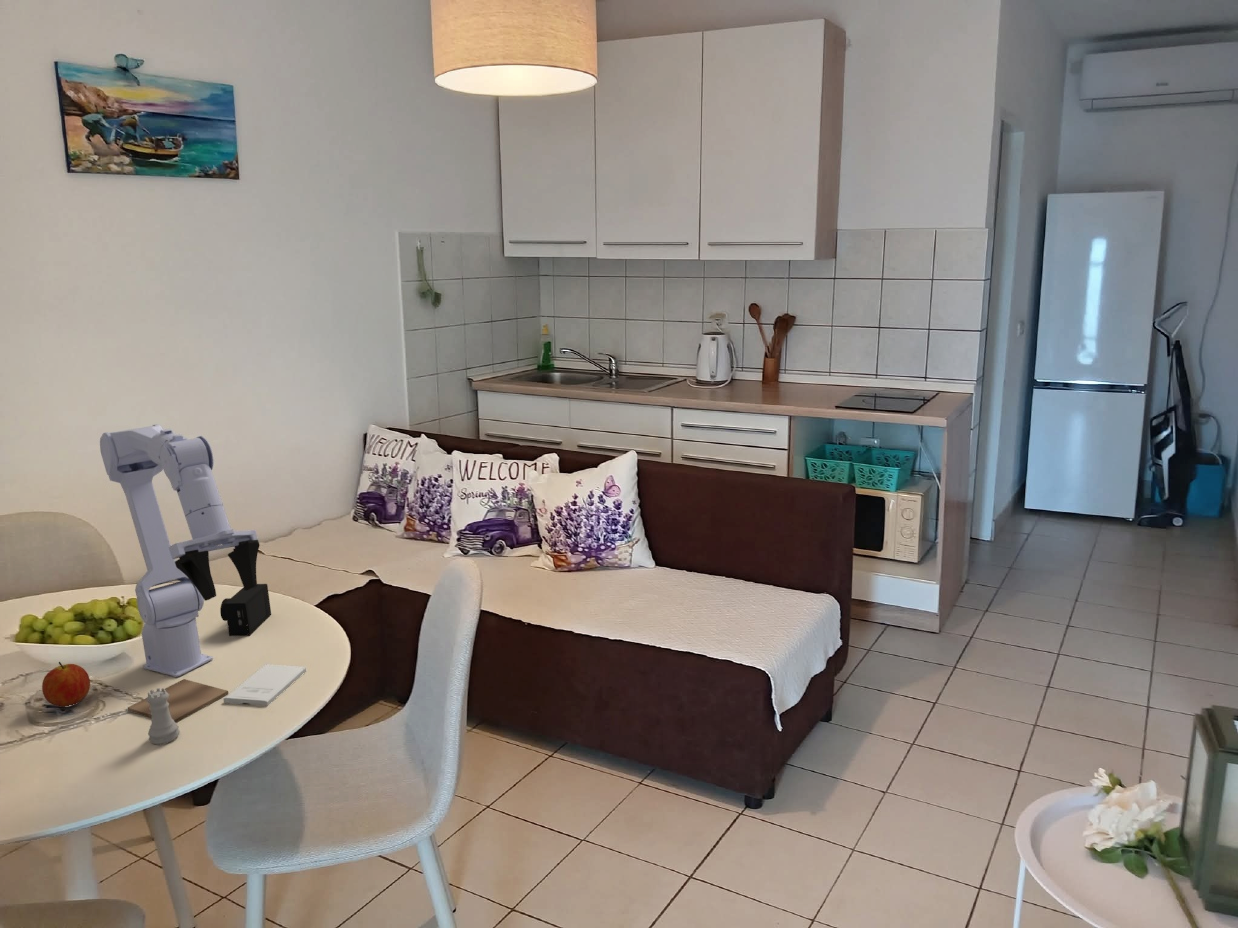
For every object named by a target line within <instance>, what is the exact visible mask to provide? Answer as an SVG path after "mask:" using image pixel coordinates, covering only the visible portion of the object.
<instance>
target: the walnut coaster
mask: <svg viewBox="0 0 1238 928" xmlns="http://www.w3.org/2000/svg"><path fill="white" fill-rule="evenodd" d="M164 689H165V690H166V692H167V693H168V694H169V697H168V699H167V702H168V703H169V706H168V708H169V712H170V715H171V718H172V719H173V720H174V722H175V723H177V724H178V723H179V722H180V721H182V720H184V719H185V718H187V717H189V716H191V715H193V714H195V713H196V712H198V711H200V710H203V709H204V708H206V707H207V706H210V705H211V704H212V703H214V702H216V701H219V700H221V699H222V698H225V697H226V696H227V695H229V691H228V690H227V689H224V688H220V687H215V686H212V685H208V684H205V683H200V682H196V681H193V680H190V679H186V678H183V679H182V680H178V681H177V682H175V683H173V684H171V685H169V686H168V687H165V688H164ZM160 691H162V689H160ZM146 699H147V697H146V698H143V699H142V700H140V701H137V702H136V703H134V704H132V705H130V706H127V711H128V712H131V713H134V714H138V715H141V716H143V717H144V716H145V717H148V718H151V719H152V713H151V710H150V709H149V708H150V704H149V703H148V702H147V701H146Z"/></svg>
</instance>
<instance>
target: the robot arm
mask: <svg viewBox="0 0 1238 928" xmlns="http://www.w3.org/2000/svg"><path fill="white" fill-rule="evenodd" d="M99 447H100V448H99V450H100V454H101V459H102V462H103V465H104V468H105V472H106V475H107V477H108V478H109V481H111V482H115V483H119V484H120V487H121V489H122V490H123V493H124V495H125V499H126V501H127V506H128V509H129V512H130V516H131V518H132V519H131V520H132V522H133V525H134V529H135V533H136V536H137V540H138V543H139V546H140V549H141V553H142V557H143V559H144V563H145V566H146V570H147V571H146V572H145V573H144V575H142V577H141V578H140V579H139V580H138V581H137V583H136V585H135V589H134V592H135V596H136V604H137V609H138V610H137V611H138V613H139V614H138V615H139V616H140V618H141V620H142V622H143V623H144V625H143V627H142V631H141V638H142V639H141V640H142V643H143V644H142V645H143V650H144V655H145V661H146V663H144V664H142V669H146V670H149V671H152V672H156V673H161V674H164V675H168V676H171V677H175V678H176V677H180V676H182V675H184V674H186V673H188V672H190V671H193V670H194V669H196V668H199V667H201V666H202V665H204V664H206V663H208V662H210V661H212V660H213V659H214V657H213V656H211V655H208V654H204V653H202V650H201V643H200V638H199V637H200V636H199V631H198V626H197V619H196V618H199V612H200V611H201V610H202V609H203V607H204V602H207V601H209V600H211V599H214V598H216V597H217V591H216V586H215V584H214V580H213V577H212V573H211V567H210V566H211V565H210V557H209V553H210V552H213V551H218V550H223V549H229V548H232V550H233V551H231V552H229V553H228V554H227V557H228V558H229V559H230V561H232V564H233V565H234V568H235V569H236V571H237V572H238V574H239V578H240V581H241V584H242V586H243V587H244V588H245V590H246V591H248V590H251V589H253V588H255V587H257V584H258V581H257V562H258V561H257V560H258V552H259V549H260V546H261V545H260V542H259V537H258V534H257V533H256V532H257V531H256V530H255V529H249V530H234V529H233V528H231V525H230V523H229V519H228V516H227V512H226V510H225V509H226V508H225V507H224V504H223V502H222V499H221V495H220V491H219V490H218V485H217V483H216V480H215V476H214V474H213V471H212V470H213V468H214V456H213V450H212V447H211V445H210V443H209V441H208V440H207V439H206V438H205V437H204V436H202V435H199V436H197V437H195V438H187V437H184V435H183V434H176V433H175V432H174V430H173V429H171V428H166V429H163V427H162V425H159V424H156V423H155V424H152V425H149V426H143V427H136V428H131V429H130V428H129V429H125V430H117V431H112V432H109V431H106V432H103V433H102V435H101V436H100V439H99ZM163 471H164V474H165V476H166V478H167V479H168V480H169V483H170V485H171V489H173V491H175V492H176V493H177V496H178V498H179V502H180V505H181V508H182V511H183V514H184V517H185V521H186V523H187V525H188V526H187V527H188V530H189V533H190V535H191V538H192V539H189V540H185V541H181V542H175V543H173V544H171V542H170V539H169V536H168V535H169V534H168V532H167V529H166V525H165V522H164V519H163V515H162V511H161V509H160V505H159V501H158V498H157V495H156V491H155V488H154V485H153V478H154V477H155V476H156V475H158V474H160V473H161V472H163ZM175 559H177V560H175ZM171 582H173V583H171ZM167 583H170V584H167ZM165 584H167V585H165ZM160 585H163V586H160ZM156 586H158V587H156ZM153 587H155V588H153ZM151 588H152V589H151Z"/></svg>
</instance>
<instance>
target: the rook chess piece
mask: <svg viewBox="0 0 1238 928" xmlns="http://www.w3.org/2000/svg"><path fill="white" fill-rule="evenodd" d="M161 690H162V691H161ZM168 697H169V694H168V693H167V692H166V690H165V688H164V687H163V688H160V687H158V688H156V691H155V689H151V690H150V692H147V697H146V698H147V699H146V701H147V702H148V703H149V704H150V708H149V709H150V710H151V713H152V718H151V723H150V726H149V730H148V731H147V732H148V733H147V734H148V741H149V742H150V743H151V744H152V745H157V746H162V745H165V744H169V743H172V742H174V741H175V740H177V738H178V737H179V735H180V733H181V731H180V729H179V725H178V722H177V723H175V722H174V720H173V719H172V718H171V715H170V712H169V708H168V706H169V703H168V702H167V699H168Z"/></svg>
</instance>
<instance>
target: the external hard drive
mask: <svg viewBox="0 0 1238 928" xmlns="http://www.w3.org/2000/svg"><path fill="white" fill-rule="evenodd" d="M305 672H306V673H307V670H306V667H304V666H297V665H284V664H272V663H271V664H268V663H265V664H264V665H263V666H261V667H259V669H257V671H255V672H254V673H253V674H251V675H250V676H249V677H248V678H247V679H245V680H244V681H243V682H241V684H239V685H238V686H237V687H236V688H234V689H233V690H232V691H230V693H228V695H226V696H224V697H223V704H232V705H233V704H234V705H243V704H244V705H251V706H260V705H264V706H263V707H268V705H269V704H270V703H271V702H272V703H273V702H275V700H276V699H277V698H276V697H277V696H279V695H280V694H281V693H282V694H283V693H284V692H285V691H287V690H288V689H289V688H290V687H291V686H292V685H293V684H294V683H295V682H294V681H296V680H297V679H298V678H299V677H300V676H301V675H302V674H303V673H304V674H305ZM304 674H303V675H304ZM303 675H302V676H303ZM302 676H301V677H302ZM301 677H300V678H301ZM300 678H299V679H300ZM299 679H298V680H299ZM298 680H297V681H298ZM297 681H296V682H297ZM293 682H294V683H293ZM292 683H293V684H292ZM291 684H292V685H291ZM290 685H291V686H290ZM289 686H290V687H289ZM288 687H289V688H288ZM287 688H288V689H287ZM286 689H287V690H286ZM284 690H285V691H284ZM283 691H284V692H283ZM282 694H281V695H282ZM281 695H280V696H281ZM280 696H279V697H280ZM274 699H275V700H274ZM272 703H271V704H272ZM271 704H270V705H271ZM265 705H266V706H265ZM270 705H269V706H270Z"/></svg>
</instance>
